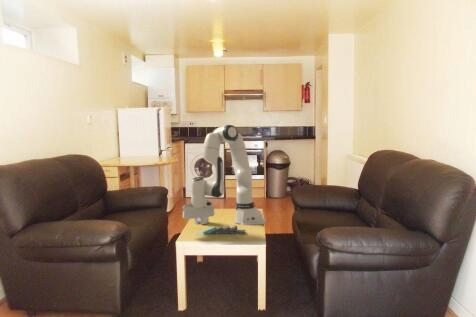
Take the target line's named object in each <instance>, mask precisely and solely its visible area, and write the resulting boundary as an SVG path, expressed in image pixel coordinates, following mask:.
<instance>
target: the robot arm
mask: <svg viewBox="0 0 476 317" xmlns="http://www.w3.org/2000/svg"><path fill="white" fill-rule="evenodd" d="M222 143H227V144H228V145H229V152H230V156H231V160H232V166H233V171H234V175H235V179H236V202H235V210H236V211H235V218H234V223H236V224H238V225H243V226H248V225H249V226H251V225H252V226H253V225H265V224H266V223H267V220H266V218H265V217H264V216H263V213H262V211H261V210H259V209H258V208H257V207H256V206H257V204H256V203H255V202H254V201H253V179H252V178H253V173H252V170H251V166H250V163H249V162H250V161H249V157H248V153H247V148H246V144H245V141H244V139H243V136H242V135H241V133H239V131H238V129H237V128H236V126H235V125H233V124H226V125H221V126H219V127H215V128H214V129H213V130H212V131H211V132H209V133H207V134H206V136H205V138H204V142H203V147H202V158H203V160H205V161H206V162H207V163H209V164H211V165H212V166H213V167H214V169H215V170H214V172H215V175H214V176H215V180H214V181H213V180H206V179H205V178H204V177H203V176H196V177H194V178H192V180H191V183H190V185H191V186H190V192H191V197H190V198H191V199H190V200H191V201H190V203H186V204H185V203H184V205H182V206H181V207H182V218H183V219H184V220H191V219H195V221H196V223H195V225H197V226H198V225H200V224H201V221H202V220H203V217H208V218H209V217H214V216H215V209H214V208H215V207H214V206H213V201H211V200H209V199H206V196H207V197H213V198H220V197H221V196H223V195H224V193H225V183H224V160H223V158H222V157H221V154H220V151H221V150H220V149H221V144H222ZM205 199H206V200H205ZM197 218H200V221H197V220H196V219H197ZM195 221H194V222H195Z"/></svg>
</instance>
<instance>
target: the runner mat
mask: <svg viewBox="0 0 476 317" xmlns="http://www.w3.org/2000/svg"><path fill="white" fill-rule="evenodd" d="M195 236H238V234H232V232H231V233H228V234H225V232H224V233H221V234H218V232H217V233H214V234H211V233H207V234H203V231H196V233H195Z"/></svg>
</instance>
